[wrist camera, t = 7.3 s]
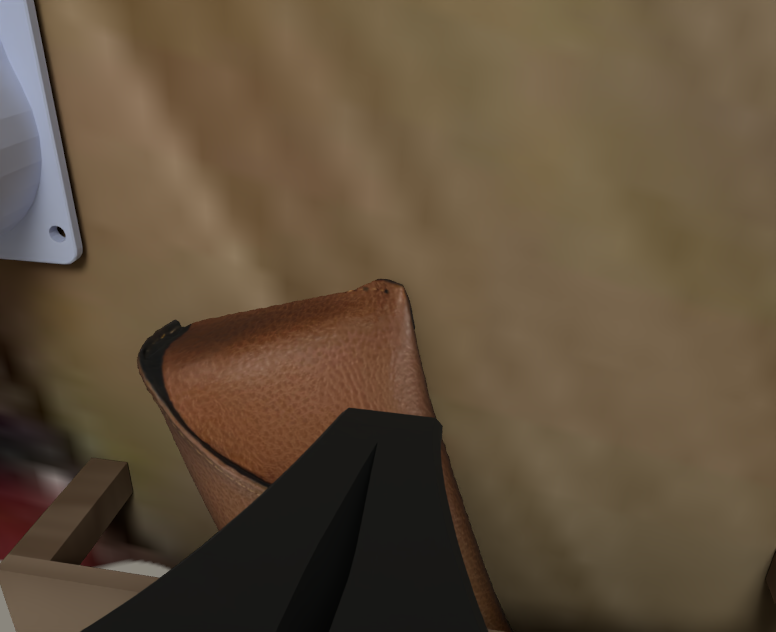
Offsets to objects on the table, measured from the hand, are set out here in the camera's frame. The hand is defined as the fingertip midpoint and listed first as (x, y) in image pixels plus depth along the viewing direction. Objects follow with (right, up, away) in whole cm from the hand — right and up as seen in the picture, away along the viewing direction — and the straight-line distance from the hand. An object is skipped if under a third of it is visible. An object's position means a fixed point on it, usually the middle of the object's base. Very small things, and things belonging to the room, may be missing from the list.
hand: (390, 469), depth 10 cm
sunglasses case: (-1, -5, +15) cm, 16 cm away
